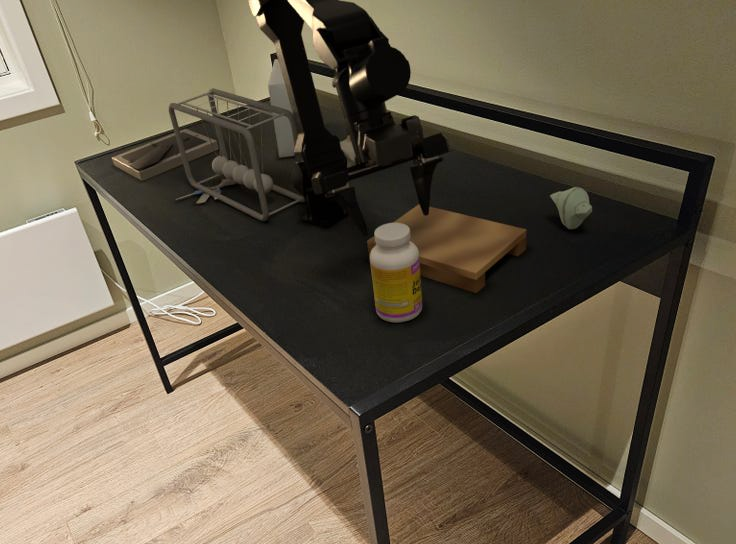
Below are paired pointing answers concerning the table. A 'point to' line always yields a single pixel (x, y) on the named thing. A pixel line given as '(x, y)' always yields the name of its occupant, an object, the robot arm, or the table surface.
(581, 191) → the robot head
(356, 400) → the table surface
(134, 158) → the picture frame
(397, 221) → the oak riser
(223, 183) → the key chain
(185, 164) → the newton's cradle
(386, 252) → the supplement bottle
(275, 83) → the skincare box
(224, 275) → the table surface
